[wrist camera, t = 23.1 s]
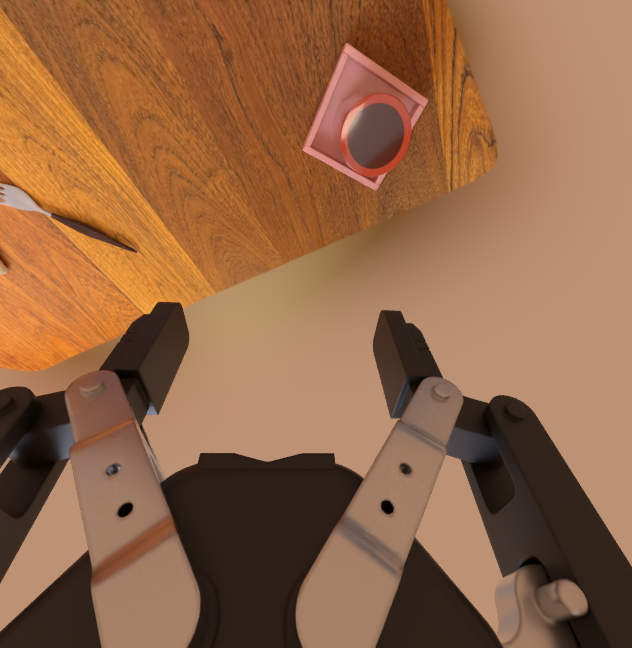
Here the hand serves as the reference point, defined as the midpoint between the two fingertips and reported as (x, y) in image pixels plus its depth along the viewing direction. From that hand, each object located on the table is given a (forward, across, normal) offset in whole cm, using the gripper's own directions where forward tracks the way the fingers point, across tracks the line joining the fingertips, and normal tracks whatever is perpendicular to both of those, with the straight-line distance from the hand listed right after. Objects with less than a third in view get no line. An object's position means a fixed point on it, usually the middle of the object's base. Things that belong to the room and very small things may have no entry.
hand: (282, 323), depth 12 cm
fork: (+26, +26, +6) cm, 38 cm away
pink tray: (+26, -6, -5) cm, 27 cm away
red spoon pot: (+26, -6, -5) cm, 27 cm away
